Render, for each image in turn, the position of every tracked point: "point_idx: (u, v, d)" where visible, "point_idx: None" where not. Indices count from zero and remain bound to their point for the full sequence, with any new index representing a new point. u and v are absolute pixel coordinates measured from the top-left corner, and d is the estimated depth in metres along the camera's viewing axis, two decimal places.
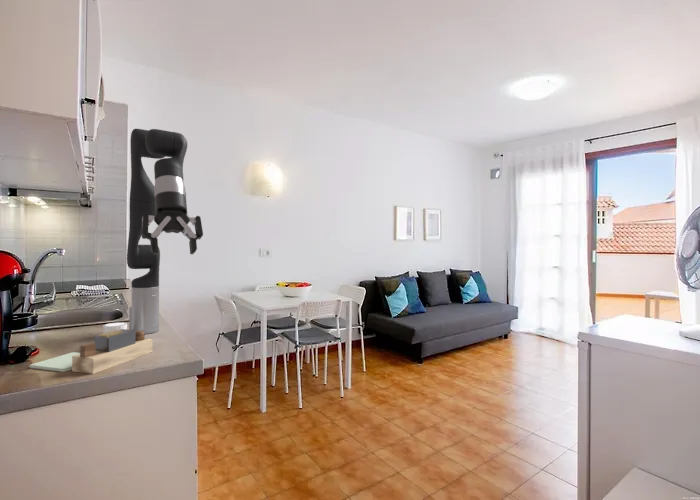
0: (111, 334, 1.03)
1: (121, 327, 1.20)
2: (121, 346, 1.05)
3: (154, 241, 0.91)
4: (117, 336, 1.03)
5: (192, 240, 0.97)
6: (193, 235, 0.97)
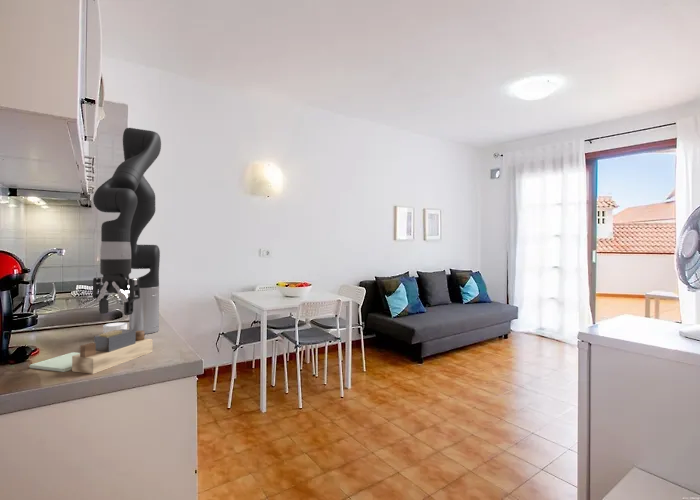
0: (111, 334, 1.03)
1: (121, 327, 1.20)
2: (121, 346, 1.05)
3: (100, 303, 1.06)
4: (117, 336, 1.03)
5: (125, 303, 1.03)
6: (125, 299, 1.03)
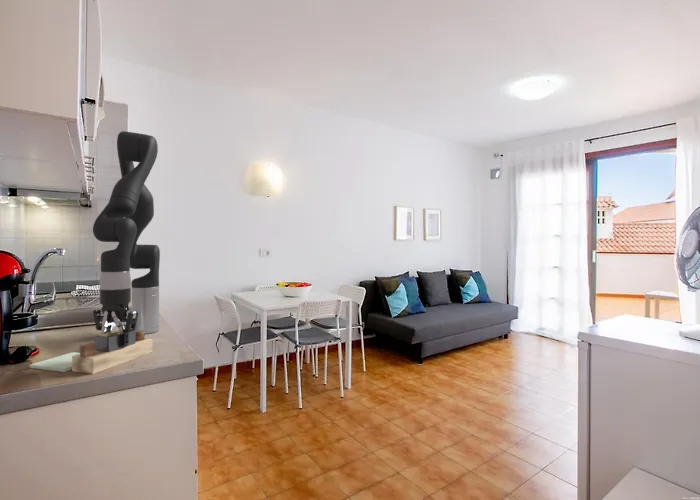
0: (111, 334, 1.03)
1: None
2: None
3: None
4: (117, 336, 1.03)
5: (120, 336, 1.04)
6: (120, 331, 1.04)
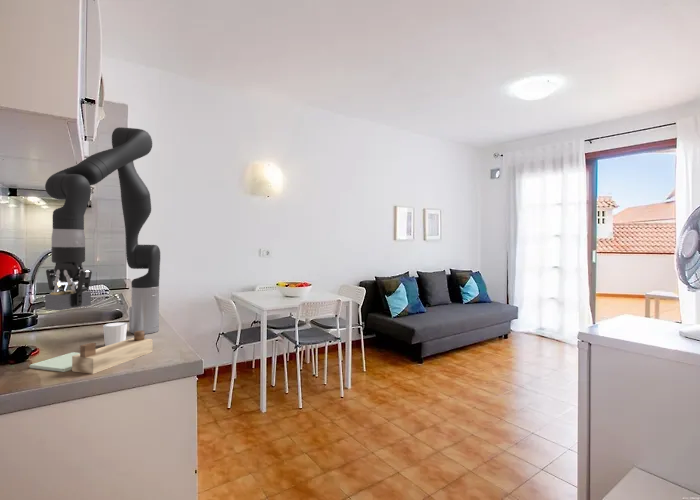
0: (63, 293, 1.01)
1: (121, 327, 1.20)
2: None
3: None
4: (69, 295, 1.01)
5: (72, 295, 1.02)
6: (73, 290, 1.01)
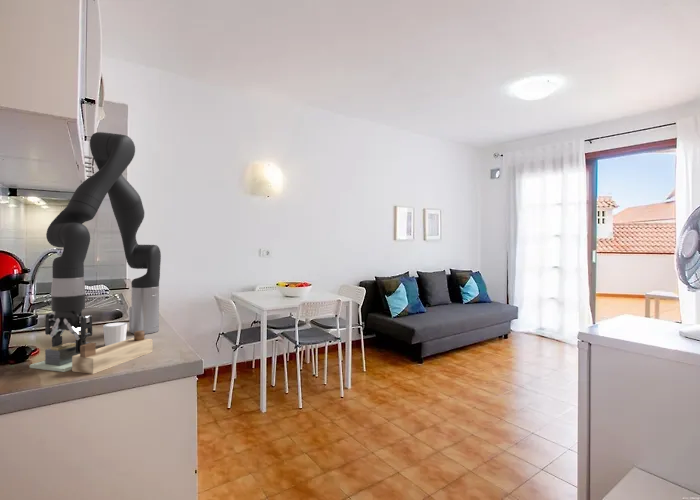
0: (63, 347, 1.01)
1: (121, 327, 1.20)
2: None
3: None
4: (69, 349, 1.01)
5: (76, 341, 1.01)
6: (77, 337, 1.01)
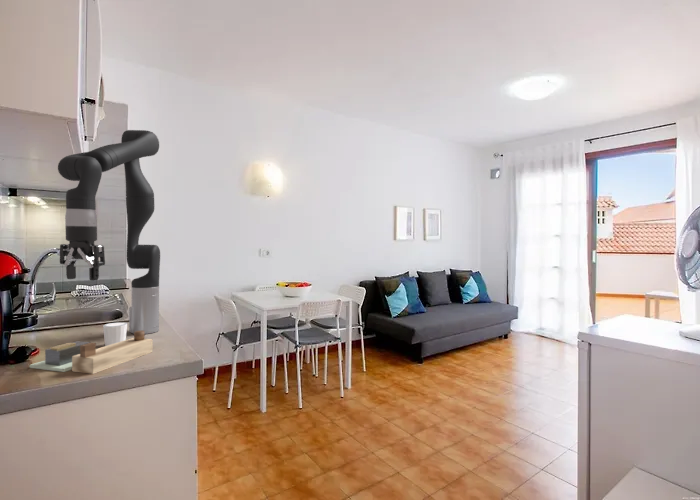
0: (63, 347, 1.01)
1: (121, 327, 1.20)
2: None
3: None
4: (69, 349, 1.01)
5: (90, 269, 1.07)
6: (90, 265, 1.06)
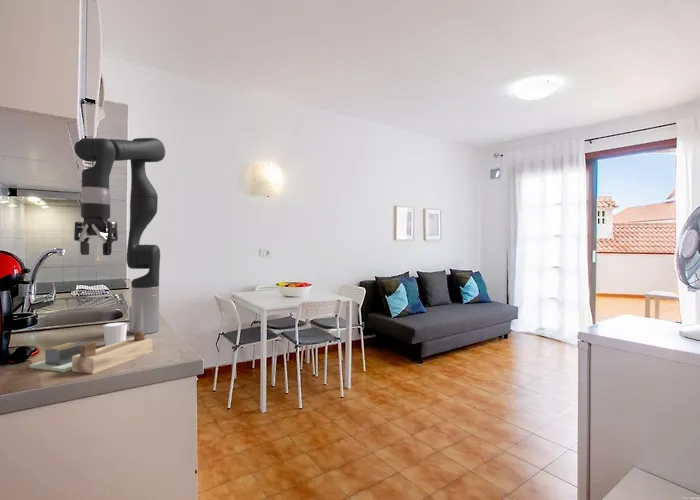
0: (63, 347, 1.01)
1: (121, 327, 1.20)
2: None
3: (81, 245, 1.15)
4: (69, 349, 1.01)
5: (103, 244, 1.12)
6: (104, 240, 1.12)
